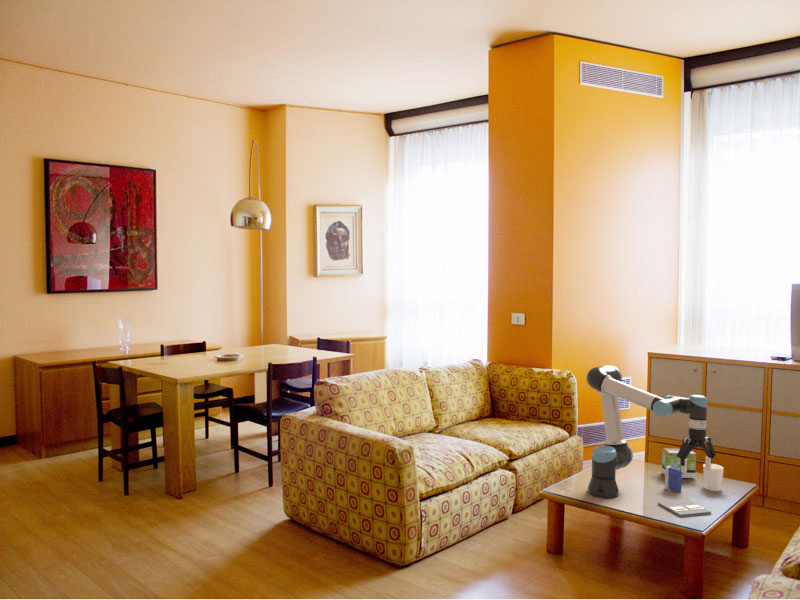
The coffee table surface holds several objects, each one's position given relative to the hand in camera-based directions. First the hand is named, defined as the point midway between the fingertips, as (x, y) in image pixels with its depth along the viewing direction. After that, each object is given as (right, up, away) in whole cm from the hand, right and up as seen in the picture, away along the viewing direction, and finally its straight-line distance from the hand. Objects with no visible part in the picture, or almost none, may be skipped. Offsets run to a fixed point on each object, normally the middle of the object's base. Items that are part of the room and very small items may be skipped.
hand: (695, 471), depth 291 cm
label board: (-5, -19, +1) cm, 19 cm away
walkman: (+2, -18, +28) cm, 34 cm away
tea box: (+15, -17, +51) cm, 56 cm away
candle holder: (+24, -18, +32) cm, 44 cm away
